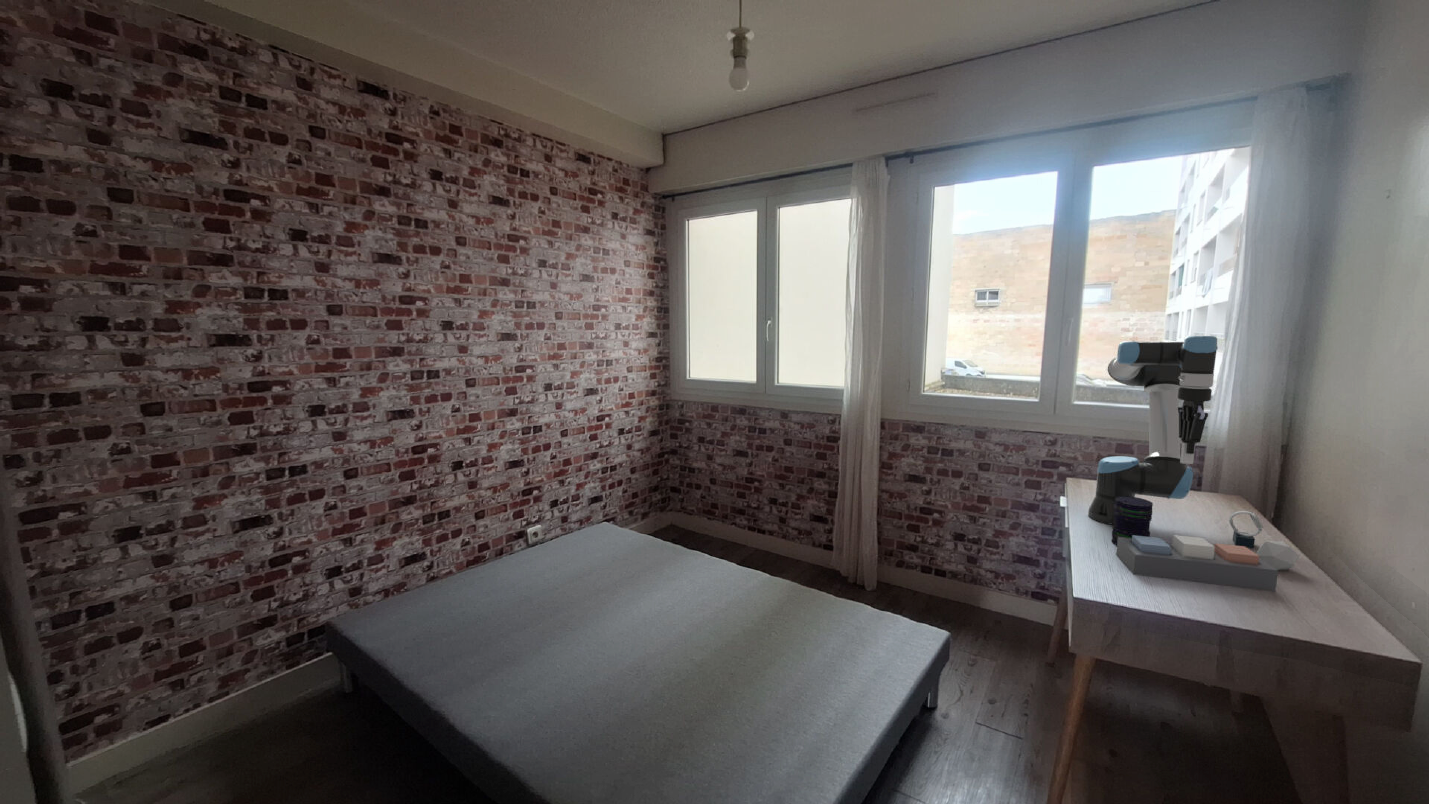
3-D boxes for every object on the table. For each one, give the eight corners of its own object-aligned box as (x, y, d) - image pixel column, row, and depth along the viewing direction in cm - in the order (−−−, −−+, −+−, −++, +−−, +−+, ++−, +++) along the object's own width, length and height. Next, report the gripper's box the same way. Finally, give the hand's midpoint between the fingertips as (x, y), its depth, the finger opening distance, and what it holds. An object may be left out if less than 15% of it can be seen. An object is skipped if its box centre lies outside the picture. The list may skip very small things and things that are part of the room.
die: (1275, 563, 164) (1252, 536, 166) (1311, 559, 157) (1287, 531, 158) (1267, 578, 160) (1244, 551, 162) (1303, 576, 153) (1279, 547, 154)
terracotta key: (1212, 559, 158) (1214, 543, 158) (1242, 562, 156) (1244, 546, 155) (1225, 569, 152) (1227, 552, 151) (1257, 573, 149) (1259, 556, 149)
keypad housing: (1116, 554, 170) (1117, 536, 169) (1245, 569, 159) (1247, 550, 158) (1133, 574, 157) (1135, 554, 156) (1275, 591, 146) (1278, 570, 145)
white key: (1171, 550, 162) (1173, 535, 161) (1200, 553, 159) (1202, 537, 158) (1182, 560, 155) (1184, 543, 154) (1212, 563, 153) (1214, 547, 152)
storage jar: (1133, 538, 182) (1137, 496, 180) (1156, 550, 173) (1161, 505, 170) (1103, 538, 182) (1107, 496, 180) (1125, 550, 173) (1129, 505, 171)
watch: (1262, 549, 172) (1266, 516, 171) (1227, 543, 177) (1231, 511, 176) (1258, 544, 177) (1263, 511, 175) (1225, 538, 182) (1229, 507, 180)
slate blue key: (1130, 550, 165) (1132, 535, 164) (1158, 553, 163) (1160, 538, 162) (1139, 560, 159) (1141, 543, 158) (1169, 563, 156) (1170, 547, 155)
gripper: (1170, 384, 170) (1162, 457, 173) (1190, 389, 158) (1181, 467, 161) (1199, 385, 167) (1191, 459, 171) (1222, 390, 155) (1212, 469, 159)
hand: (1186, 463), depth 166 cm, fingers closed
